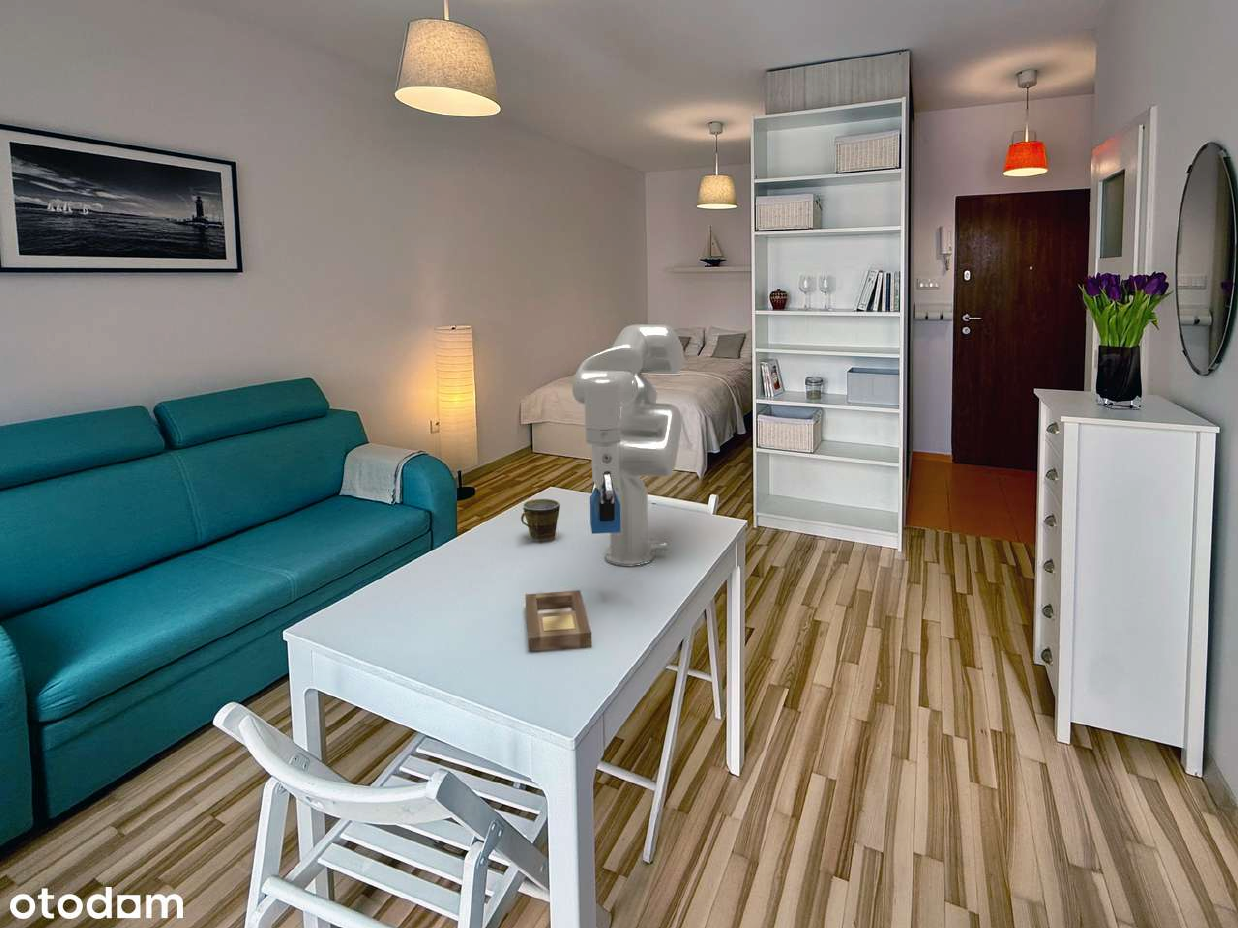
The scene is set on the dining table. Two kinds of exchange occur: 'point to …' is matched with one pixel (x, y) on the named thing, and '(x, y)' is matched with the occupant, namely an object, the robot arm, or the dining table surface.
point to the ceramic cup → (541, 519)
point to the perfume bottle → (595, 521)
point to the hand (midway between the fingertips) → (604, 514)
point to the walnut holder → (557, 621)
